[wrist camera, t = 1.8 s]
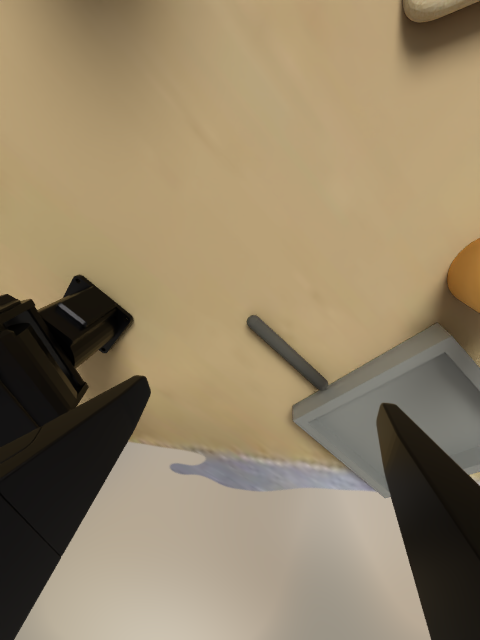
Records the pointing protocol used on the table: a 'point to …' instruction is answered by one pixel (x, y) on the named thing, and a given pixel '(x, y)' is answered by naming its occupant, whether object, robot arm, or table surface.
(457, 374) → the grey square tray
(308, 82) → the table surface
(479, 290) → the orange rounded stepped post
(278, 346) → the rod
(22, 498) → the robot arm
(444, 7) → the wooden puzzle
